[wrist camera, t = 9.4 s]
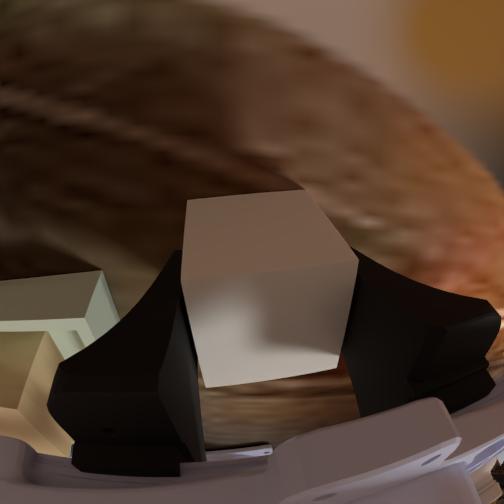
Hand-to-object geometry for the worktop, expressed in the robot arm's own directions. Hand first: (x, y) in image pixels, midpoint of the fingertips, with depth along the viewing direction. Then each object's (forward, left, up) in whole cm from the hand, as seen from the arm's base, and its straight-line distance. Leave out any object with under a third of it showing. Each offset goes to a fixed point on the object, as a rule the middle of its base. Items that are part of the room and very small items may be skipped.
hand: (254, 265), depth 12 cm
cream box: (0, 0, -1) cm, 1 cm away
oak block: (-6, +13, -1) cm, 14 cm away
